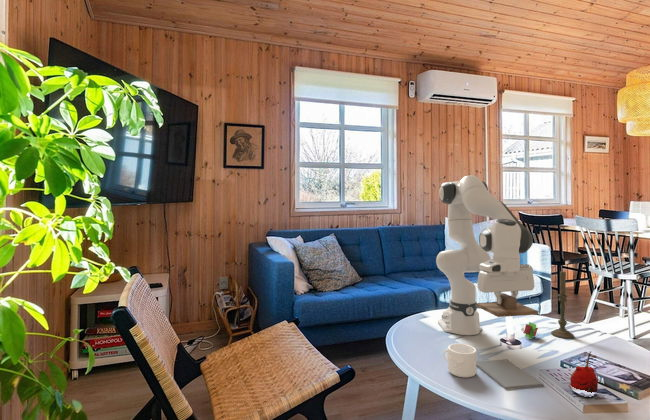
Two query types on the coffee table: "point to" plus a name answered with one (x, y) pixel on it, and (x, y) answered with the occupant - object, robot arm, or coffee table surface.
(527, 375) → the mat
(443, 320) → the robot arm
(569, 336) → the candlestick holder
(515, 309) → the lid
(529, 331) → the geometric puzzle
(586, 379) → the candy apple
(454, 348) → the mug
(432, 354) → the coffee table surface
